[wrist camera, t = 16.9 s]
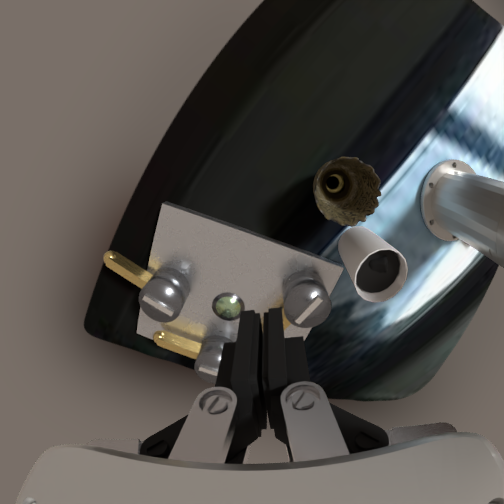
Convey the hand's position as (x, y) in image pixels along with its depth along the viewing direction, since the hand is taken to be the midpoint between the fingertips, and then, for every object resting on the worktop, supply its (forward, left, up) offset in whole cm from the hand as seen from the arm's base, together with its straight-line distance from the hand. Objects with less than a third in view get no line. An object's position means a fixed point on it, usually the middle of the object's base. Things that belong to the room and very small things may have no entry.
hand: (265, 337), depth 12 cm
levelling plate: (0, +16, -27) cm, 31 cm away
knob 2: (-8, +13, -26) cm, 30 cm away
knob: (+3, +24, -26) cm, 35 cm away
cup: (-7, -6, -27) cm, 29 cm away
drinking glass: (-14, +1, -27) cm, 31 cm away
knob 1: (+13, +15, -26) cm, 32 cm away
